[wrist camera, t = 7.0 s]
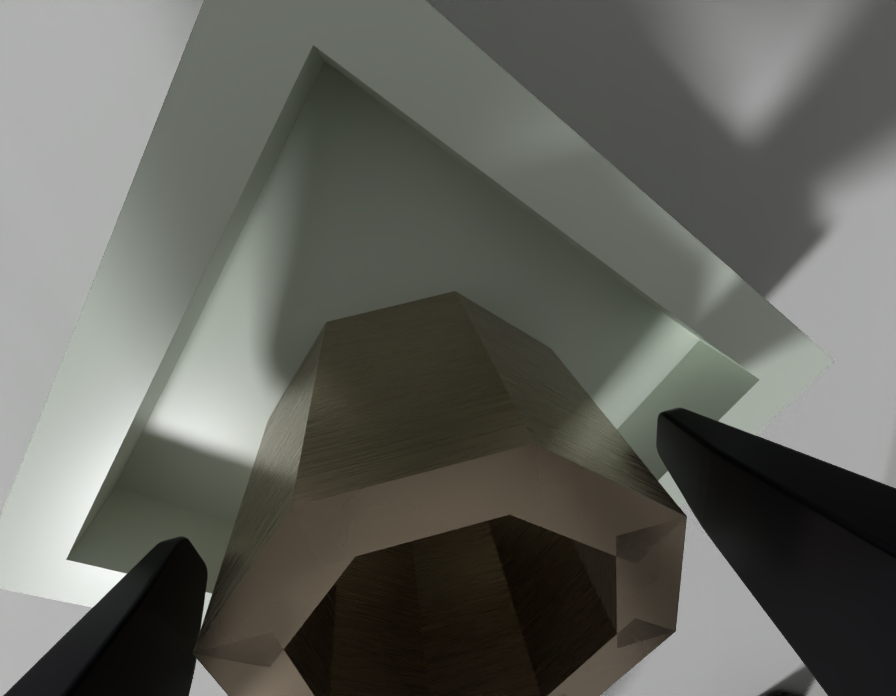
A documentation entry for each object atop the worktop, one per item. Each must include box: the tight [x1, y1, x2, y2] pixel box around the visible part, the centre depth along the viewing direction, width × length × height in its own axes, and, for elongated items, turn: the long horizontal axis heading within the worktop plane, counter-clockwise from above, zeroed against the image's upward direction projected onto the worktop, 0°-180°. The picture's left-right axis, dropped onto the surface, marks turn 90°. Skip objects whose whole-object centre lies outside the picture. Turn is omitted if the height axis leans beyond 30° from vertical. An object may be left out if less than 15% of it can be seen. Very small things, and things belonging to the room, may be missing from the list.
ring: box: [193, 291, 687, 696], centre depth 9 cm, size 7×8×5 cm
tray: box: [0, 0, 835, 627], centre depth 10 cm, size 12×12×2 cm
